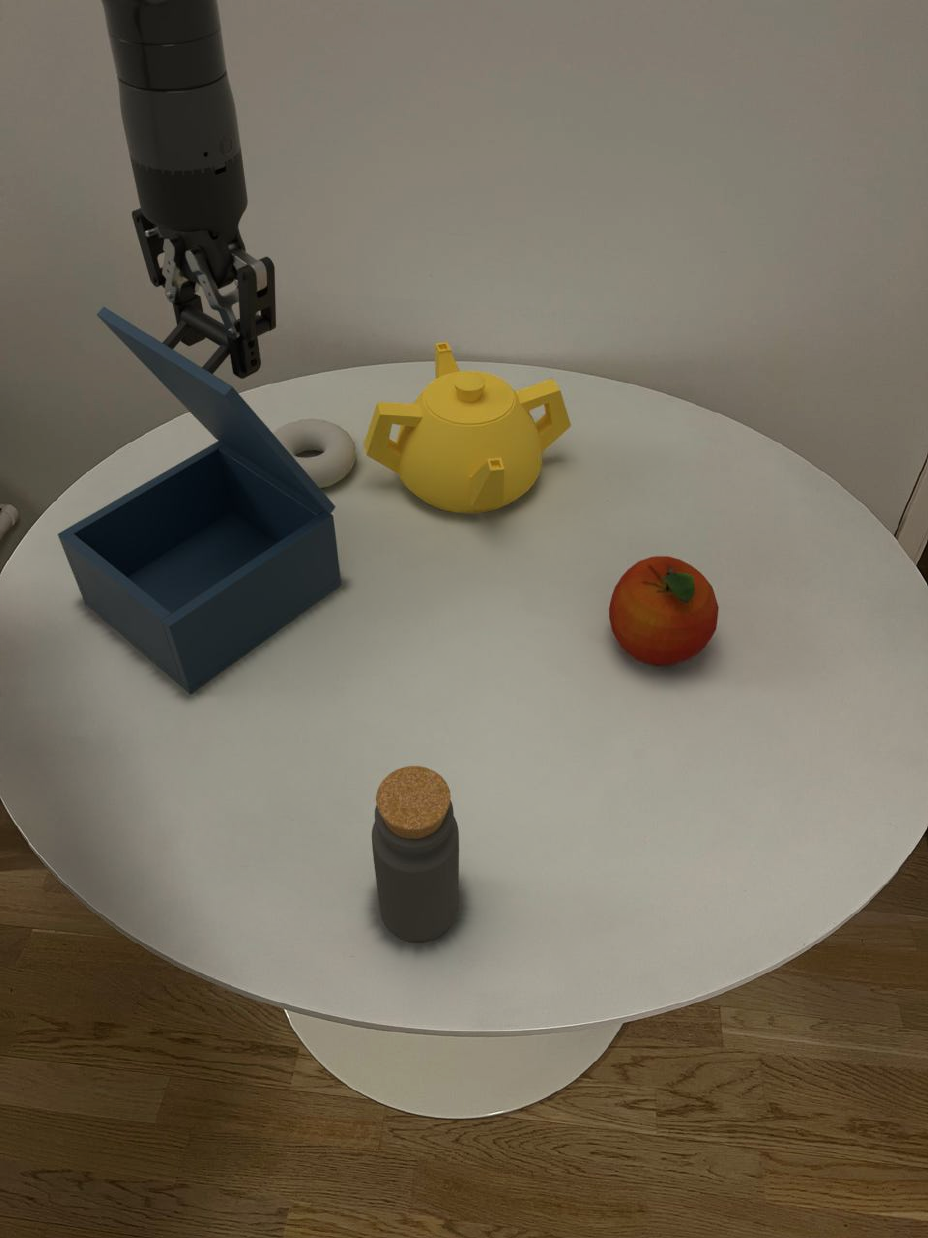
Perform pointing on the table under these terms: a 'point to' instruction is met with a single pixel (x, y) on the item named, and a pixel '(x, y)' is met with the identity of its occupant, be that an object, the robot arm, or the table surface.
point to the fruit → (663, 611)
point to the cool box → (203, 562)
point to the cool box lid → (215, 397)
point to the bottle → (416, 854)
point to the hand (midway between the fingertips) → (220, 356)
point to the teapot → (468, 437)
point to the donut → (319, 449)
